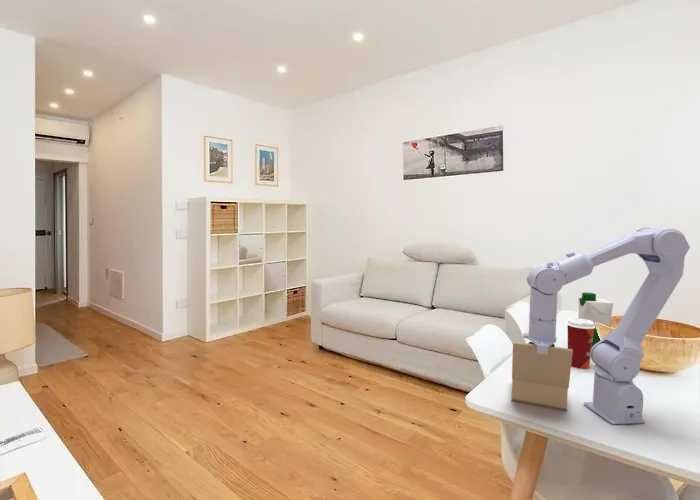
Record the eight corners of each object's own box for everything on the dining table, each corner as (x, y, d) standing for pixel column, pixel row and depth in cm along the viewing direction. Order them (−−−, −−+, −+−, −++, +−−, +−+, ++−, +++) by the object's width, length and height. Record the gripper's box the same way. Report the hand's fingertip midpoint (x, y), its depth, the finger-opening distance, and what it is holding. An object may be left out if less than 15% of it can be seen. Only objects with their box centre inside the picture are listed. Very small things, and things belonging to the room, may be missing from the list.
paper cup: (597, 371, 116) (600, 325, 114) (569, 369, 117) (571, 323, 116) (587, 361, 123) (589, 318, 122) (560, 359, 125) (562, 316, 124)
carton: (513, 383, 107) (514, 362, 106) (563, 392, 102) (564, 369, 101) (511, 400, 97) (512, 377, 96) (566, 411, 92) (567, 386, 91)
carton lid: (513, 341, 91) (512, 343, 91) (572, 349, 86) (572, 351, 86) (512, 377, 96) (511, 378, 96) (568, 386, 91) (568, 388, 91)
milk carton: (573, 346, 137) (576, 291, 136) (600, 348, 136) (604, 291, 134) (583, 355, 129) (587, 296, 127) (613, 357, 127) (617, 297, 125)
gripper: (524, 309, 100) (522, 360, 101) (523, 323, 87) (521, 382, 88) (555, 312, 97) (553, 365, 98) (559, 327, 84) (556, 388, 85)
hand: (540, 373), depth 93 cm, fingers closed, pressing on carton lid
